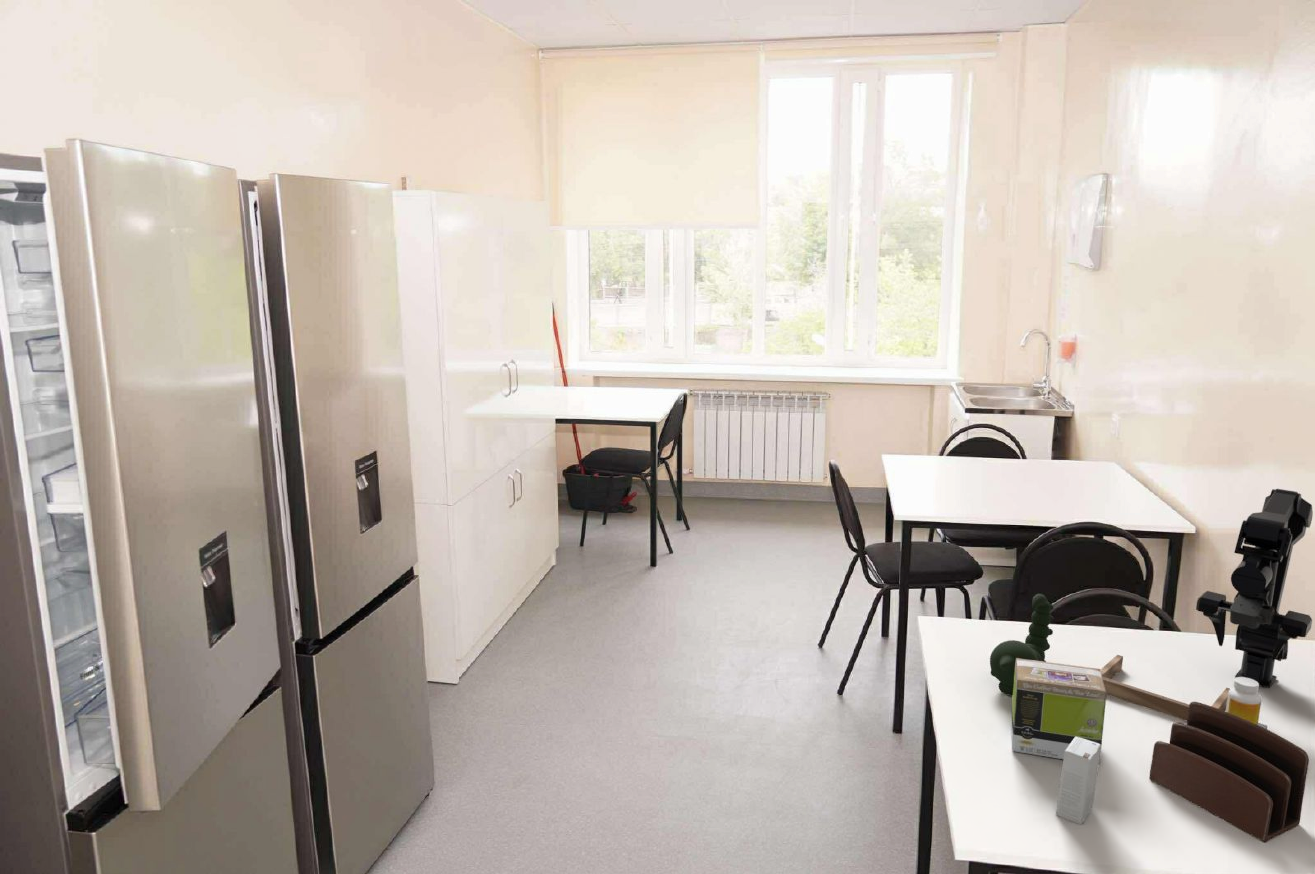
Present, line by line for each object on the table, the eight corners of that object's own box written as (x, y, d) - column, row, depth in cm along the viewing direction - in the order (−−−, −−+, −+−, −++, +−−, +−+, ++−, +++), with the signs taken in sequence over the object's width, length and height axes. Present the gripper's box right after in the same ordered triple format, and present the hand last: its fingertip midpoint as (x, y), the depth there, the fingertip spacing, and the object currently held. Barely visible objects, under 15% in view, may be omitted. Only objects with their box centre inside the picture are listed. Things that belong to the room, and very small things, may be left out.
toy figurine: (1015, 664, 209) (974, 696, 190) (1025, 584, 206) (984, 608, 187) (1059, 677, 203) (1020, 711, 184) (1070, 594, 200) (1032, 620, 181)
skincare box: (1066, 798, 157) (1073, 733, 154) (1094, 809, 154) (1102, 743, 151) (1054, 815, 152) (1061, 748, 150) (1083, 826, 149) (1091, 759, 147)
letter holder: (1182, 765, 167) (1193, 693, 164) (1300, 826, 150) (1314, 747, 147) (1147, 779, 163) (1157, 706, 160) (1264, 844, 146) (1278, 763, 142)
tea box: (1093, 739, 175) (1102, 667, 172) (1099, 767, 166) (1108, 692, 163) (1008, 725, 180) (1015, 655, 177) (1010, 752, 171) (1017, 678, 168)
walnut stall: (1115, 667, 205) (1117, 654, 204) (1231, 702, 189) (1233, 689, 189) (1091, 689, 195) (1092, 676, 194) (1210, 728, 179) (1212, 714, 179)
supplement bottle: (1261, 736, 174) (1268, 689, 172) (1230, 733, 176) (1236, 686, 173) (1250, 722, 180) (1256, 676, 178) (1219, 719, 181) (1225, 673, 179)
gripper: (1192, 578, 183) (1183, 651, 186) (1305, 605, 170) (1293, 682, 174) (1208, 563, 190) (1199, 633, 194) (1318, 587, 178) (1305, 662, 181)
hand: (1246, 652), depth 186 cm, fingers open, 9 cm apart
